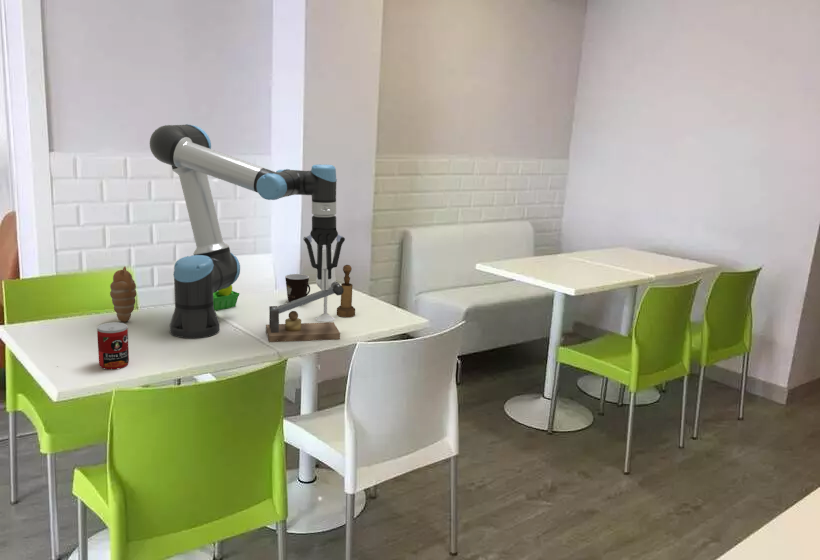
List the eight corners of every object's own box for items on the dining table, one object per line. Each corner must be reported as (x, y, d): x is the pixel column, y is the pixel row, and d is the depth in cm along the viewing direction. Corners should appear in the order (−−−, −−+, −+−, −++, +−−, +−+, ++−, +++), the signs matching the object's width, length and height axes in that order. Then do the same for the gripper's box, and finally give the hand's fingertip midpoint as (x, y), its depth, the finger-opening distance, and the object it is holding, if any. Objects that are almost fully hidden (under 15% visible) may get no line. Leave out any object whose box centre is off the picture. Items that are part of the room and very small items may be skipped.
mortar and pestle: (354, 318, 254) (355, 267, 250) (335, 317, 254) (336, 266, 250) (355, 312, 260) (357, 263, 256) (337, 311, 260) (339, 262, 256)
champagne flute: (336, 321, 249) (338, 252, 244) (317, 322, 247) (318, 252, 241) (332, 315, 255) (334, 248, 250) (313, 316, 253) (314, 248, 248)
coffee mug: (283, 300, 272) (283, 274, 270) (306, 299, 275) (306, 273, 272) (288, 308, 261) (288, 281, 259) (311, 307, 264) (312, 281, 262)
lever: (272, 319, 226) (269, 311, 225) (271, 314, 231) (268, 306, 230) (344, 293, 230) (341, 284, 229) (341, 288, 236) (338, 280, 235)
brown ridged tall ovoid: (134, 325, 234) (132, 271, 229) (108, 325, 232) (106, 270, 228) (140, 318, 242) (138, 265, 238) (115, 317, 241) (112, 264, 237)
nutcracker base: (269, 342, 224) (269, 314, 222) (265, 330, 235) (266, 303, 233) (340, 339, 230) (340, 311, 228) (333, 328, 241) (334, 301, 239)
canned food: (103, 371, 194) (101, 332, 191) (95, 362, 200) (93, 324, 197) (132, 367, 198) (131, 328, 196) (124, 358, 204) (122, 320, 202)
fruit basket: (227, 302, 266) (227, 272, 263) (242, 307, 260) (242, 276, 258) (200, 307, 257) (200, 276, 255) (215, 313, 252) (215, 281, 249)
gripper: (303, 217, 220) (304, 293, 225) (347, 216, 224) (347, 291, 229) (300, 213, 227) (301, 287, 232) (343, 213, 231) (343, 285, 236)
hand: (324, 289), depth 231 cm, fingers closed
